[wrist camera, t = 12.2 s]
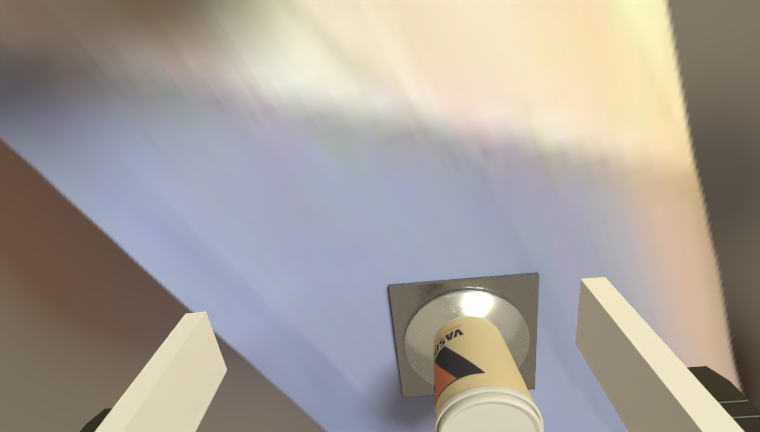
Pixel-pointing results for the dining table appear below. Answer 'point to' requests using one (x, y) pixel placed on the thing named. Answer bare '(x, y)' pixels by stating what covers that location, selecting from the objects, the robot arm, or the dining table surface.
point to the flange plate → (456, 299)
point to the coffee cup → (479, 381)
